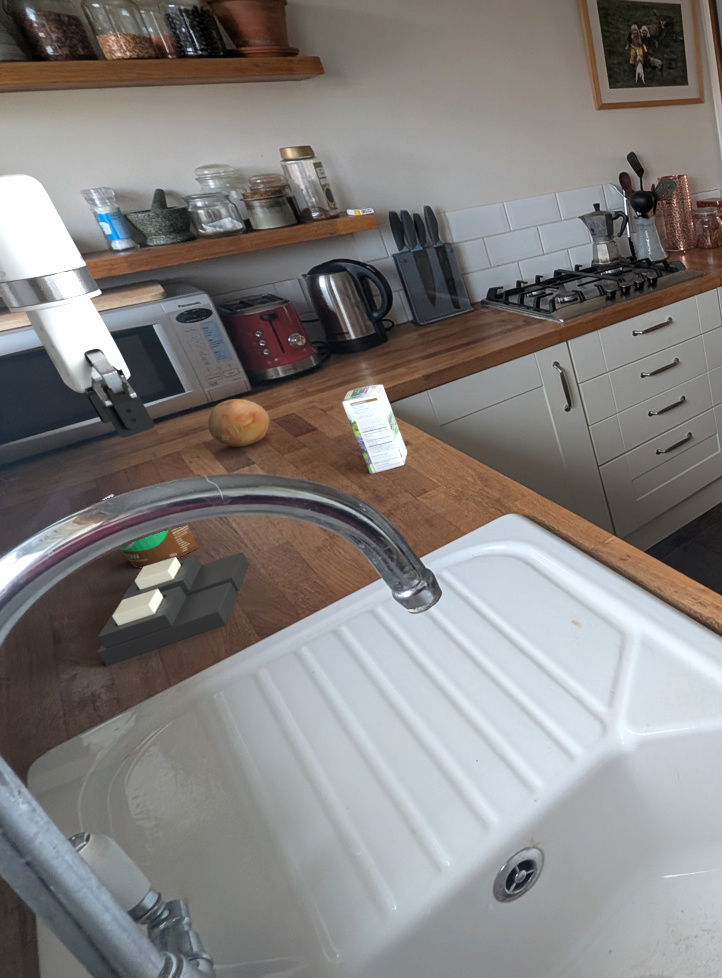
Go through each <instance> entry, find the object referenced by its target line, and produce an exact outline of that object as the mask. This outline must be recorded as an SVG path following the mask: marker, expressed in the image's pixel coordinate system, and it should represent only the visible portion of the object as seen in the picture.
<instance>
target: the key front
mask: <svg viewBox="0 0 722 978" xmlns="http://www.w3.org/2000/svg"><path fill="white" fill-rule="evenodd" d="M163 600H164V598H163V596H162V594H161V593H160V591H159V590H158V589H155V590H152V591H149V592H146V593H143V594H140V595H136V596H133V597H130V598H127V599H124V600H122V599H121V601H120V603H119V604H118V605H117V606H118V608H117V609H116V608H115V609H116V611H115V610H114V611H115V612H114V611H113V612H114V614H113V613H112V614H113V616H112V617H113V619H114V620H115V622H116V623H117V625H118V626H119V625H122V624H125V623H128V622H131V621H134V620H137V619H140V618H143V617H146V616H149V615H152V614H155V613H157V611H158V609H159V607H160V606H161V604H162V602H163Z"/></svg>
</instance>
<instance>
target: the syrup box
mask: <svg viewBox="0 0 722 978" xmlns="http://www.w3.org/2000/svg"><path fill="white" fill-rule="evenodd" d="M341 404H342V408H343V410H344V412H345V414H346V417H347V420H348V422H349V424H350V427H351V430H352V432H353V435H354V436H355V439H356V442H357V445H358V447H359V449H360V452H361V455H362V458H363V460H364V462H365V464H366V468H367V470H368V472H369V474H372V475H373V474H376V473H380V472H385V471H389V470H392V469H395V468H398V467H403V466H405V464H406V460H407V456H408V450H407V447H406V444H405V441H404V438H403V436H402V433H401V431H400V428H399V425H398V423H397V420H396V419H397V418H396V417H395V414H394V412H393V409H392V407H391V403H390V401H389V398H388V396H387V393H386V390H385V388H384V385H383V384H374V385H373V384H372V385H367V386H363V387H362V386H361V387H357V388H354V389H351V390H348V391H347V392H346V394H345V396H344V398H343V400H342V402H341Z"/></svg>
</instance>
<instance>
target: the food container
mask: <svg viewBox="0 0 722 978" xmlns="http://www.w3.org/2000/svg"><path fill="white" fill-rule="evenodd" d="M113 496H115V495H114V494H113V493H111V494H109V495H108V496H106V497H104V498H103V499H101V500H105V499H107V498H110V497H113ZM196 548H198V549H199V547H198V544H197V542H196V540H195V538H194V535H193V534H192V532H191V529H190V528H189V525H188V524H187V525H186V526H183V527H179V528H174V529H171V530H167V531H163V532H160V533H157V534H154V535H150V536H148V537H145V538H143V539H140V540H138V541H135V542H132V543H131V544H129V545H126V546H124V547H122V548H119V550H120V551H121V552H122V553H123V555H124V556H125V557H126V559H127V560H128V561H129V562H130V564H131V565H132V566H133V565H135V566H137V567H145V566H148V565H151V564H154V563H158V562H161V561H164V560H167V559H171V558H174V557H176V558H179V557H180V556H183V555H185V554H187V553H189V552H191V551H192V550H194V549H196ZM196 550H197V549H196ZM191 553H192V552H191ZM189 554H190V553H189ZM187 555H188V554H187ZM185 556H186V555H185ZM183 557H184V556H183ZM179 559H180V558H179Z"/></svg>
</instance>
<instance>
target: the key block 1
mask: <svg viewBox="0 0 722 978" xmlns="http://www.w3.org/2000/svg"><path fill="white" fill-rule="evenodd" d="M178 561H179V563H180V565H181V566H182V567H181V569H180V570H179V572H178V574H177V576H176V578H175V579H172V580H169V581H166V582H163V583H160V584H157V585H153V586H150V587H147V588H144V589H141V590H140V589H139V587H138V586H137V584H136V583H135V579H136V578H137V576H138V574H139V573H140V572H137V574H136V575H135V578H134V579H133V581H132V582H131V584H130V585H129V587H128V588H127V590H126V592H125V593H124V595H123V597H122V598H121V601H122V600H124V599H127V598H130V597H133V596H136V595H140V594H143V593H146V592H149V591H152V590H155V589H158V590H159V591H160V592H163V591H166V590H170V589H173V588H176V587H179V586H180V587H181V588H182V590H183V592H184V593H185V595H186V596H189V595H192V594H195V593H198V592H201V591H204V590H207V589H210V588H213V587H216V586H219V585H222V584H225V583H228V582H231V583H232V585H233V587H234V589H235V590H236V592H238V591H240V590H241V587H242V584H243V582H244V578H245V576H246V574H247V571H248V569H249V567H250V563H249V561H248V558H247V557H246V556H245V552H238V553H235V554H231V555H229V556H226V557H222V558H220V559H215V560H213V561H210V562H207V563H203V564H202V563H201V561H200V559H199V557H198V556H197V555H193V556H189V557H186V558H181V559H180V560H179V559H178Z"/></svg>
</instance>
